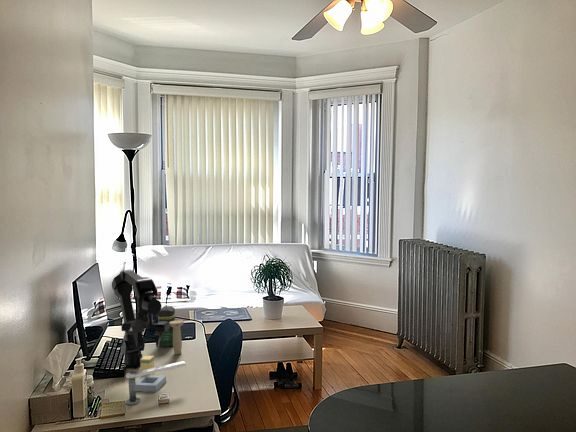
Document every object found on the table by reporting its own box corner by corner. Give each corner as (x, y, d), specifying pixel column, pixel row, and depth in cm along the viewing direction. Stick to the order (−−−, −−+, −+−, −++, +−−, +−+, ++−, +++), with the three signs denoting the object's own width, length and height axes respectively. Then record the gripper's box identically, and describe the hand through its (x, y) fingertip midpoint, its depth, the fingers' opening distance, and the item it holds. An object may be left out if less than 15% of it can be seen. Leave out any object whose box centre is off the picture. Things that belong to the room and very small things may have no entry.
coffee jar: (174, 347, 237) (172, 309, 235) (157, 348, 236) (155, 310, 235) (177, 340, 246) (176, 304, 245) (161, 341, 246) (160, 305, 244)
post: (123, 404, 176) (121, 379, 175) (129, 398, 181) (128, 374, 180) (136, 405, 175) (135, 380, 174) (142, 399, 180) (141, 374, 179)
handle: (185, 354, 227) (184, 322, 225) (171, 356, 224) (169, 324, 223) (184, 350, 231) (182, 319, 230) (170, 352, 229) (168, 321, 228)
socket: (133, 390, 188) (132, 384, 188) (144, 380, 197) (143, 374, 197) (156, 391, 186) (155, 385, 186) (166, 381, 196) (165, 375, 195)
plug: (141, 378, 200) (140, 359, 199) (145, 374, 204) (144, 355, 203) (150, 378, 199) (149, 359, 199) (154, 374, 203) (153, 355, 203)
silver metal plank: (127, 379, 175) (127, 377, 175) (124, 376, 178) (124, 373, 178) (186, 366, 186) (186, 363, 186) (182, 362, 190) (182, 360, 190)
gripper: (113, 314, 193) (115, 353, 194) (158, 315, 190) (160, 354, 191) (127, 307, 204) (129, 343, 205) (169, 307, 201) (171, 344, 202)
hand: (146, 346), depth 201 cm, fingers open, 9 cm apart
